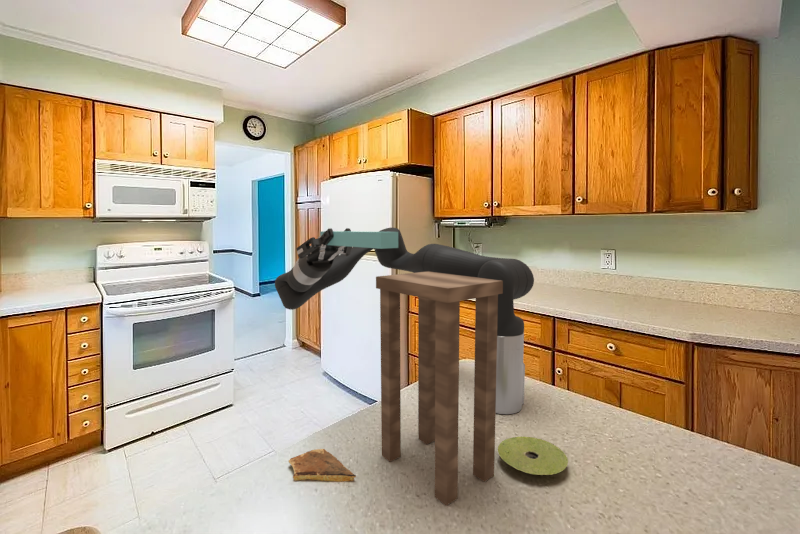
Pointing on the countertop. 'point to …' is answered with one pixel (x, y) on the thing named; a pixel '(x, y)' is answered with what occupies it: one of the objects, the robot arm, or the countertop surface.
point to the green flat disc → (533, 455)
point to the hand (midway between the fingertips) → (340, 232)
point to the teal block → (364, 239)
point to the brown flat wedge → (319, 467)
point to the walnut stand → (441, 369)
